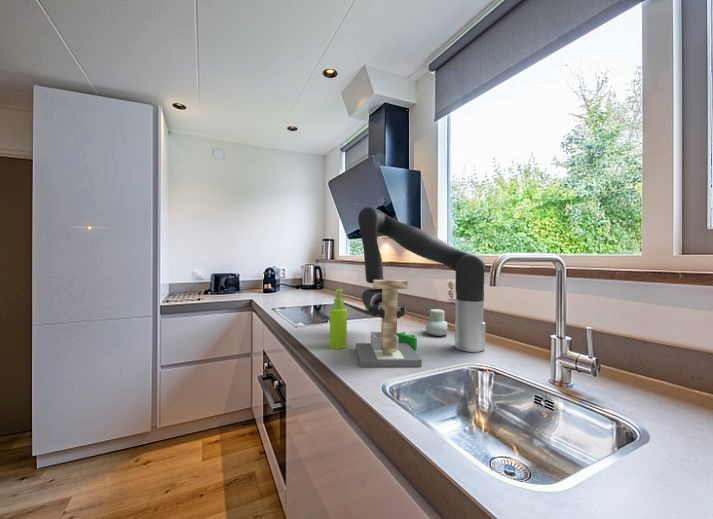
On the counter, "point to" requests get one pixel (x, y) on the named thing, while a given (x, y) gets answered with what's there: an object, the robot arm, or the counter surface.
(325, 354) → the counter surface
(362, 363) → the grey base plate
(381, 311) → the robot arm
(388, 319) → the T-key
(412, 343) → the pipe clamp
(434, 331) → the air freshener
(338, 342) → the soap dispenser
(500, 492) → the counter surface
